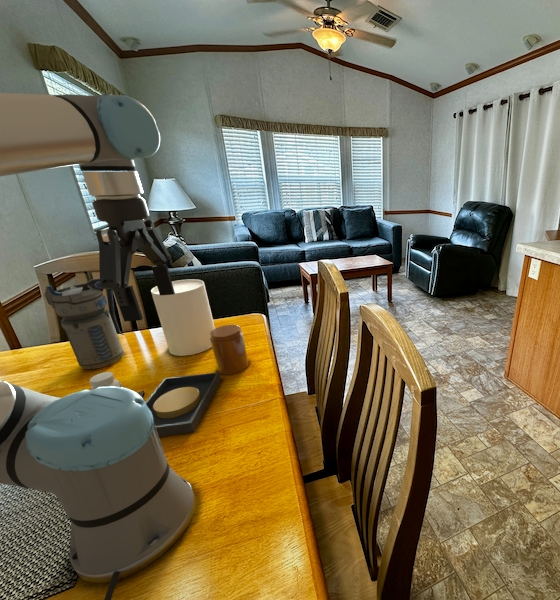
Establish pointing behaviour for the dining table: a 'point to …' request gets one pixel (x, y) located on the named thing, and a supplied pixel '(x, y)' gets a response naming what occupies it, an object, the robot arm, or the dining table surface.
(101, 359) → the beverage bottle
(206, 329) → the canister
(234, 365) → the jar
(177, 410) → the lid
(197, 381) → the tray
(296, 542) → the dining table surface
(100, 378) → the pill bottle
